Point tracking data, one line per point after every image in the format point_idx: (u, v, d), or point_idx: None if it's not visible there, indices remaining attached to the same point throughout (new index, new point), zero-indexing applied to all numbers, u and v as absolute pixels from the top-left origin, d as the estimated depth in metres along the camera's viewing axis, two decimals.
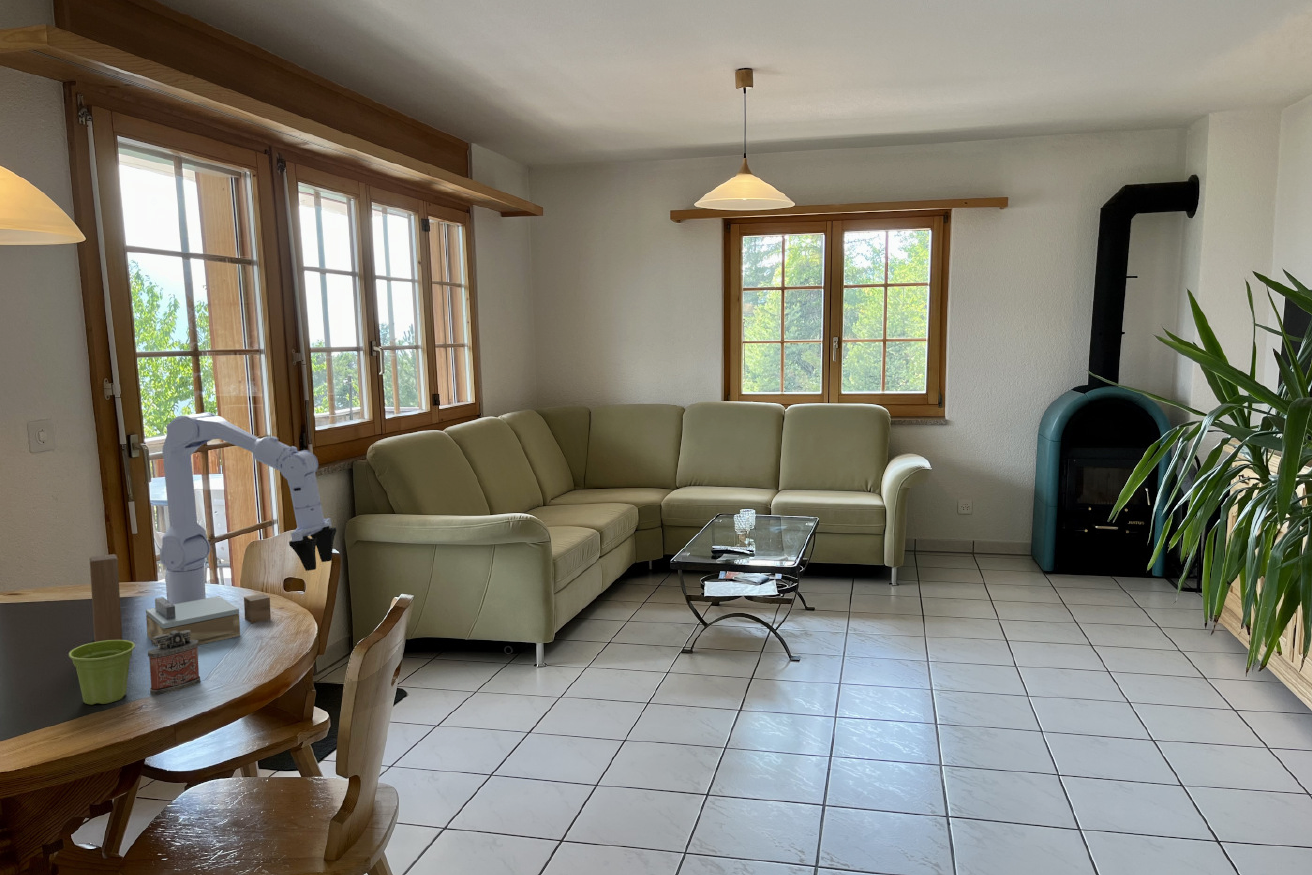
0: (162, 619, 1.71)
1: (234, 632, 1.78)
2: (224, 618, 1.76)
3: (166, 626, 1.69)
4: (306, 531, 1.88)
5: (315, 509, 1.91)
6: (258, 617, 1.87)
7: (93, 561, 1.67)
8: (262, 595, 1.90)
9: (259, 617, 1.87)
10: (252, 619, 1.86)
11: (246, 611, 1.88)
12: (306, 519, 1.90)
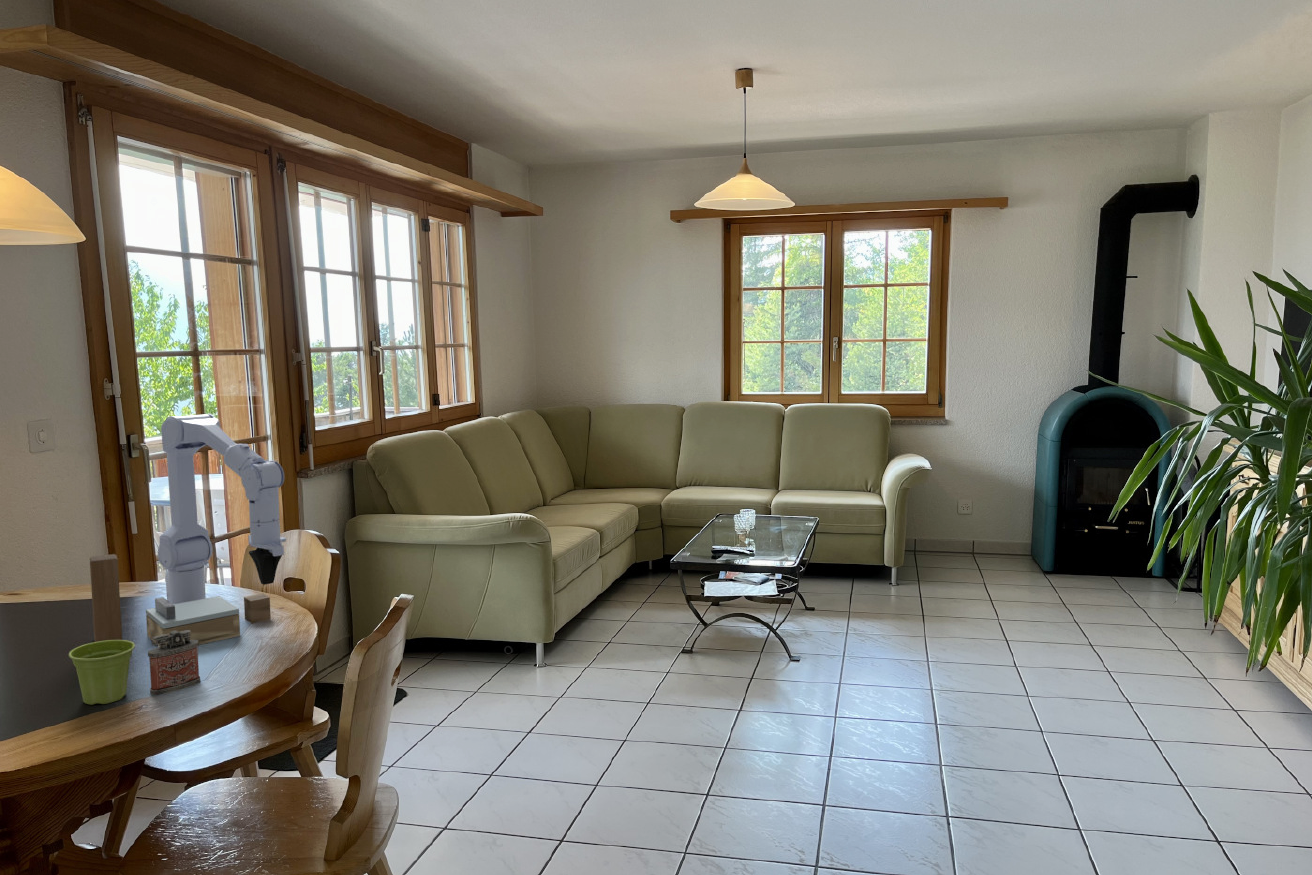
0: (162, 619, 1.71)
1: (234, 632, 1.78)
2: (224, 618, 1.76)
3: (166, 626, 1.69)
4: None
5: (279, 522, 1.83)
6: (258, 617, 1.87)
7: (93, 561, 1.67)
8: (262, 595, 1.90)
9: (259, 617, 1.87)
10: (252, 619, 1.86)
11: (246, 611, 1.88)
12: (273, 534, 1.81)
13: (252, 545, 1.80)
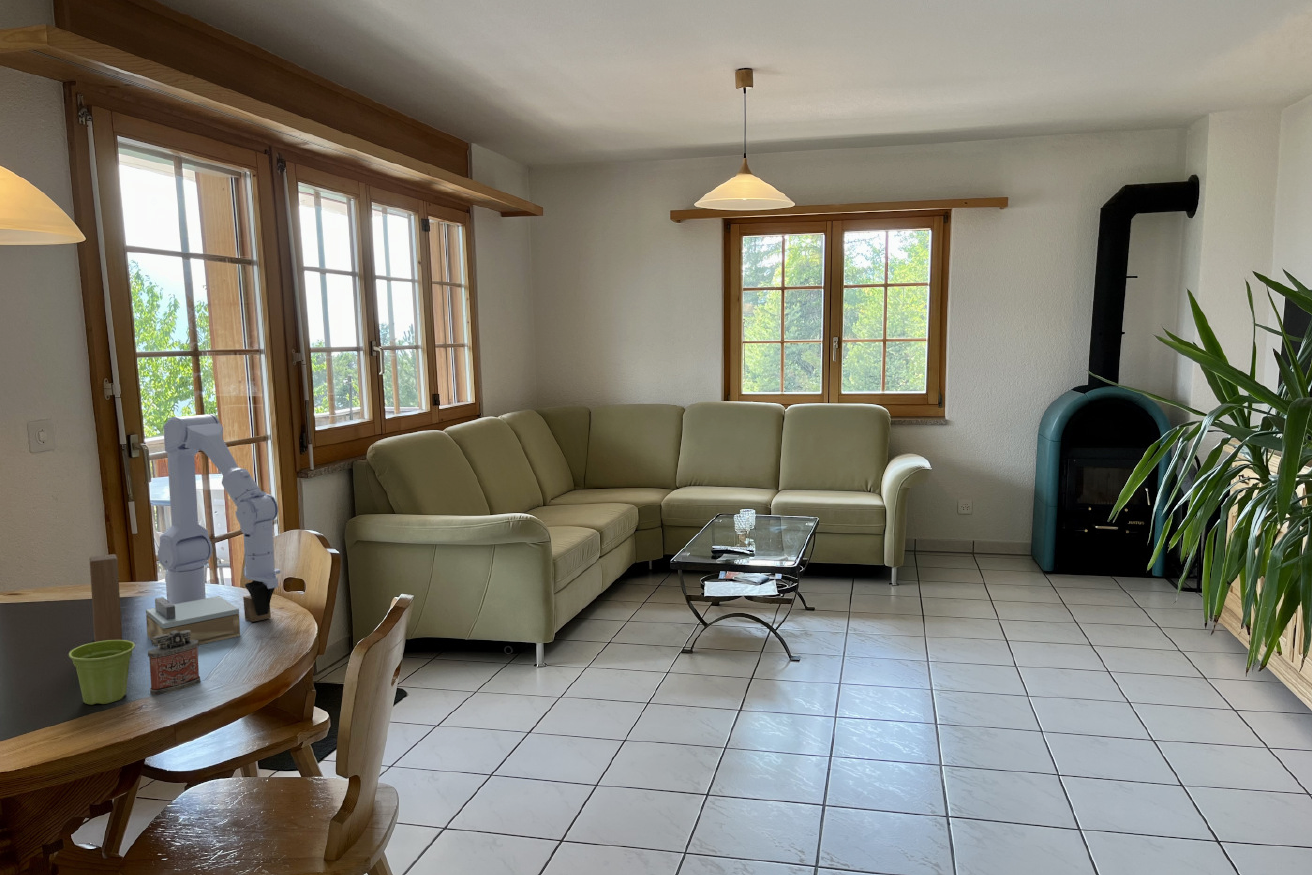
0: (162, 619, 1.71)
1: (234, 632, 1.78)
2: (224, 618, 1.76)
3: (166, 626, 1.69)
4: None
5: (273, 555, 1.87)
6: None
7: (93, 561, 1.67)
8: None
9: None
10: (252, 617, 1.87)
11: (245, 610, 1.89)
12: (267, 566, 1.84)
13: (247, 578, 1.84)
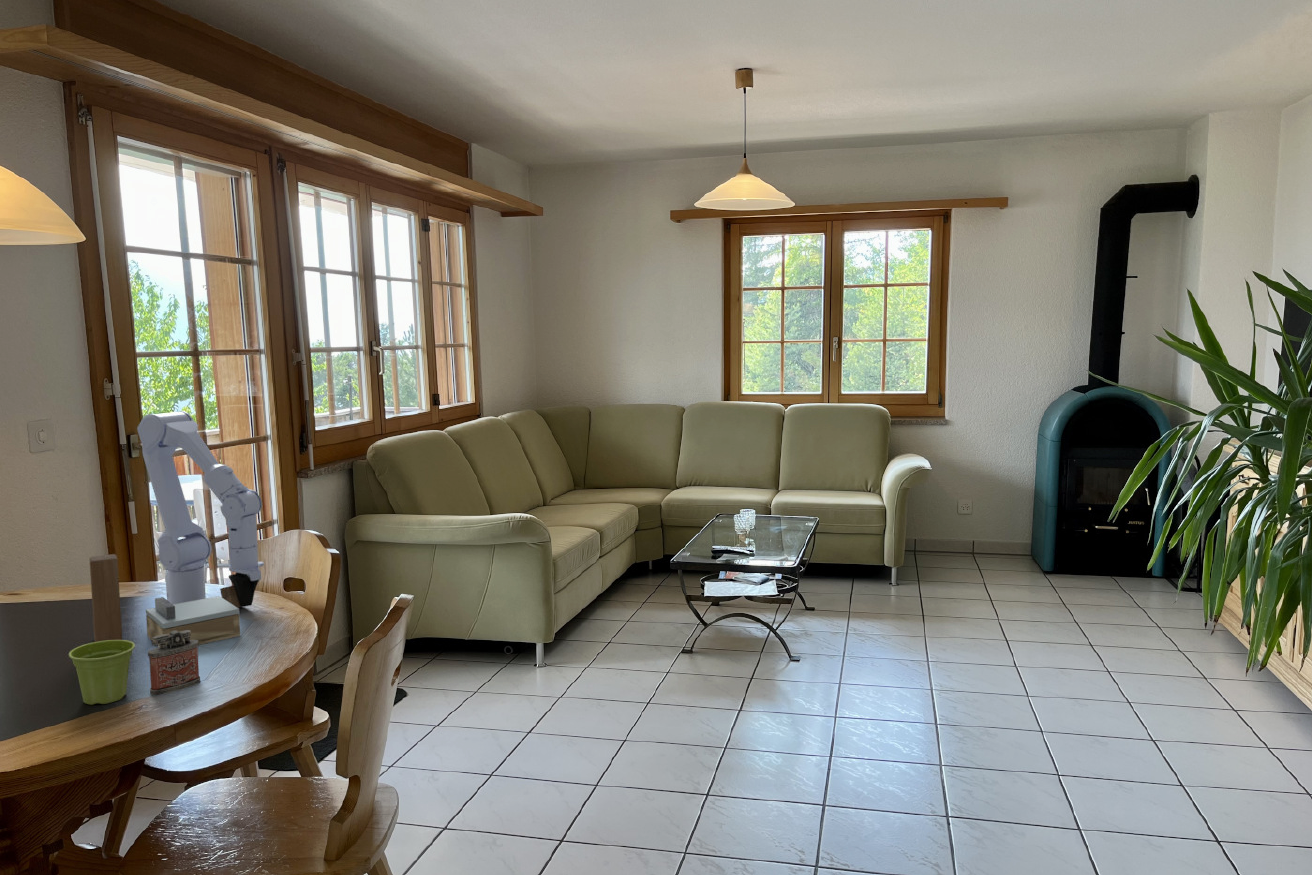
0: (162, 619, 1.71)
1: (234, 632, 1.78)
2: (224, 618, 1.76)
3: (166, 626, 1.69)
4: None
5: (257, 548, 1.93)
6: (237, 602, 1.94)
7: (93, 561, 1.67)
8: None
9: None
10: (232, 604, 1.93)
11: None
12: (251, 559, 1.91)
13: (231, 570, 1.91)
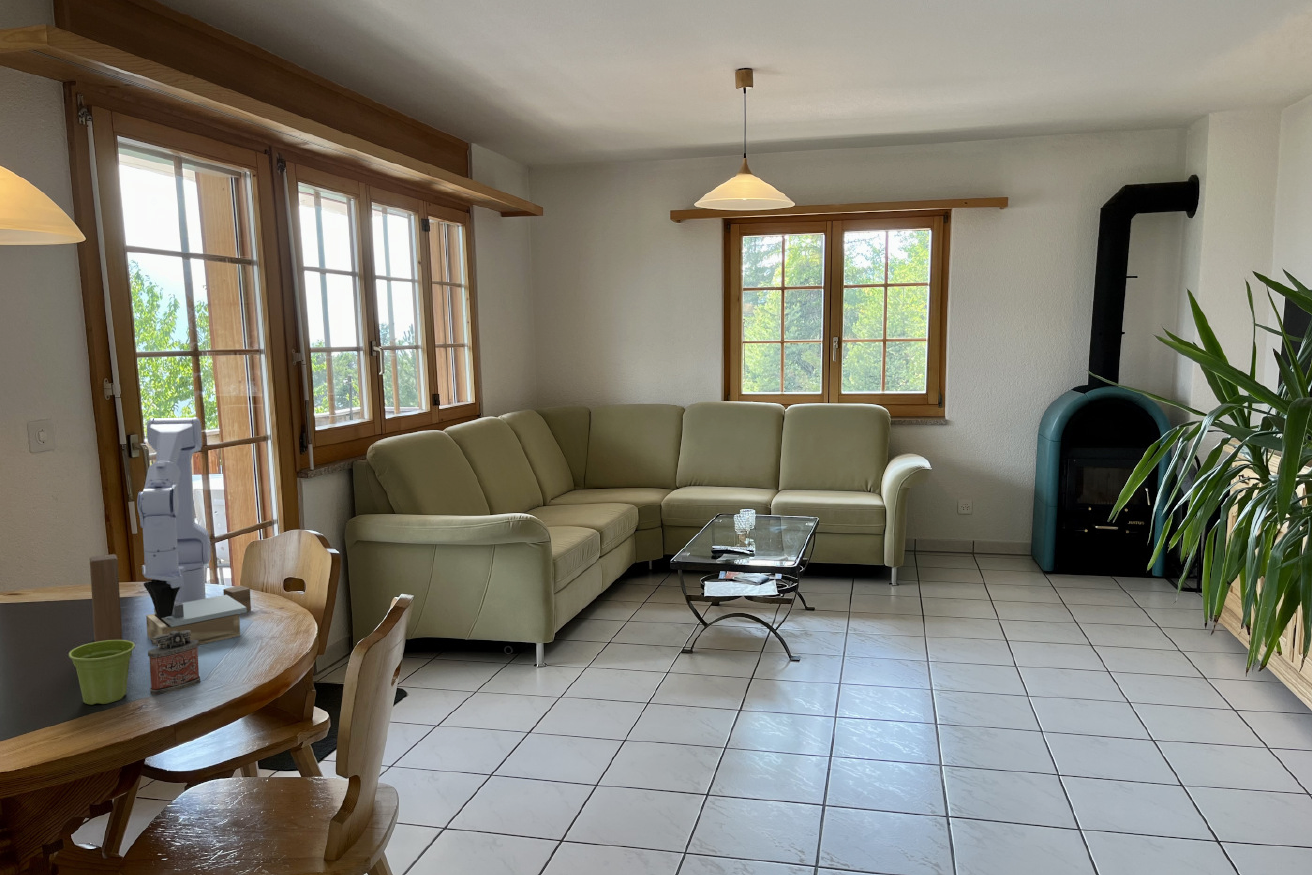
0: (171, 618, 1.72)
1: (234, 632, 1.78)
2: (224, 618, 1.76)
3: (174, 624, 1.70)
4: (180, 576, 1.68)
5: (177, 551, 1.71)
6: None
7: (93, 561, 1.67)
8: (241, 587, 1.96)
9: None
10: None
11: None
12: (170, 564, 1.69)
13: (147, 576, 1.68)
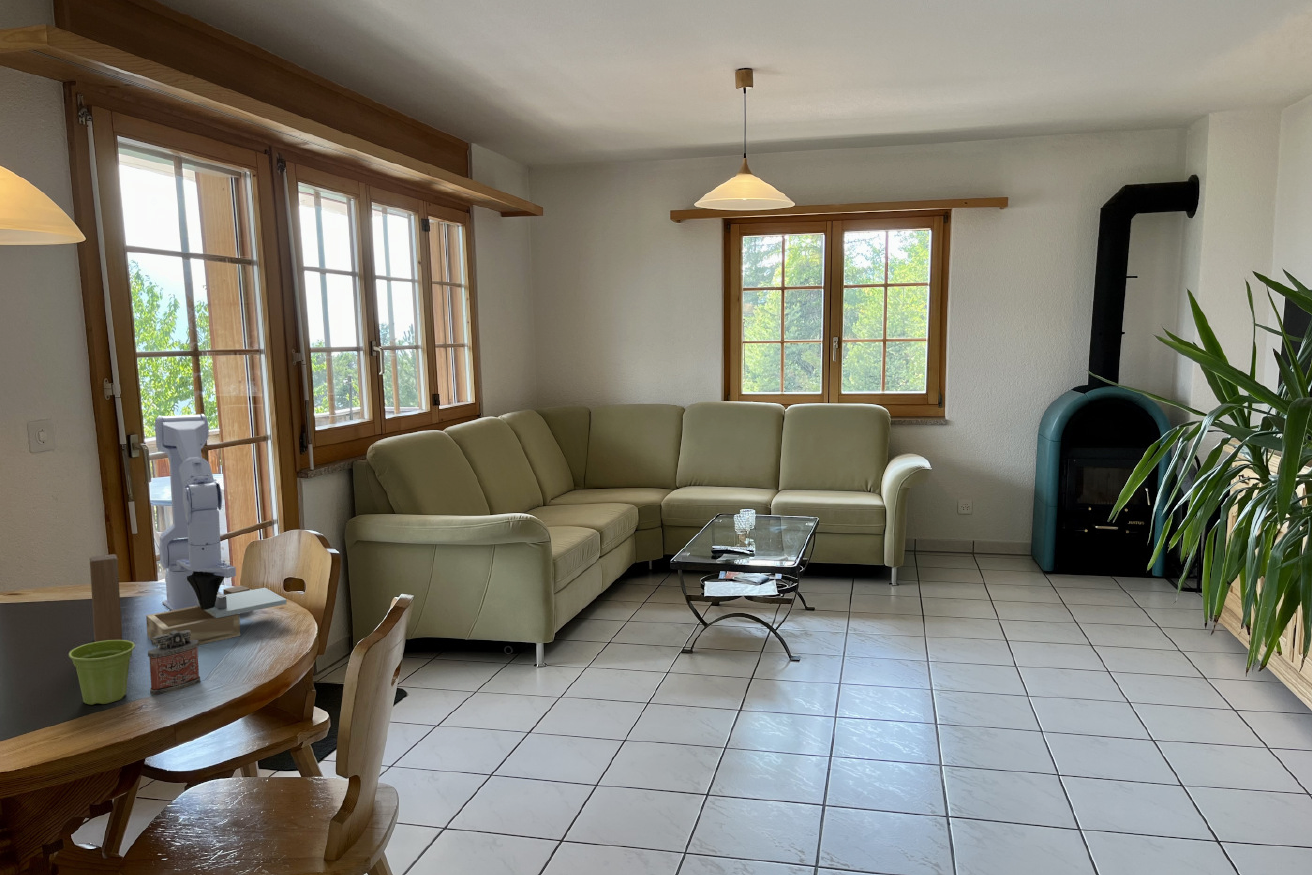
0: (214, 609, 1.77)
1: (234, 632, 1.78)
2: (224, 618, 1.76)
3: (218, 616, 1.75)
4: None
5: (220, 544, 1.77)
6: None
7: (93, 561, 1.67)
8: (241, 587, 1.96)
9: None
10: None
11: None
12: (217, 556, 1.75)
13: (195, 569, 1.73)
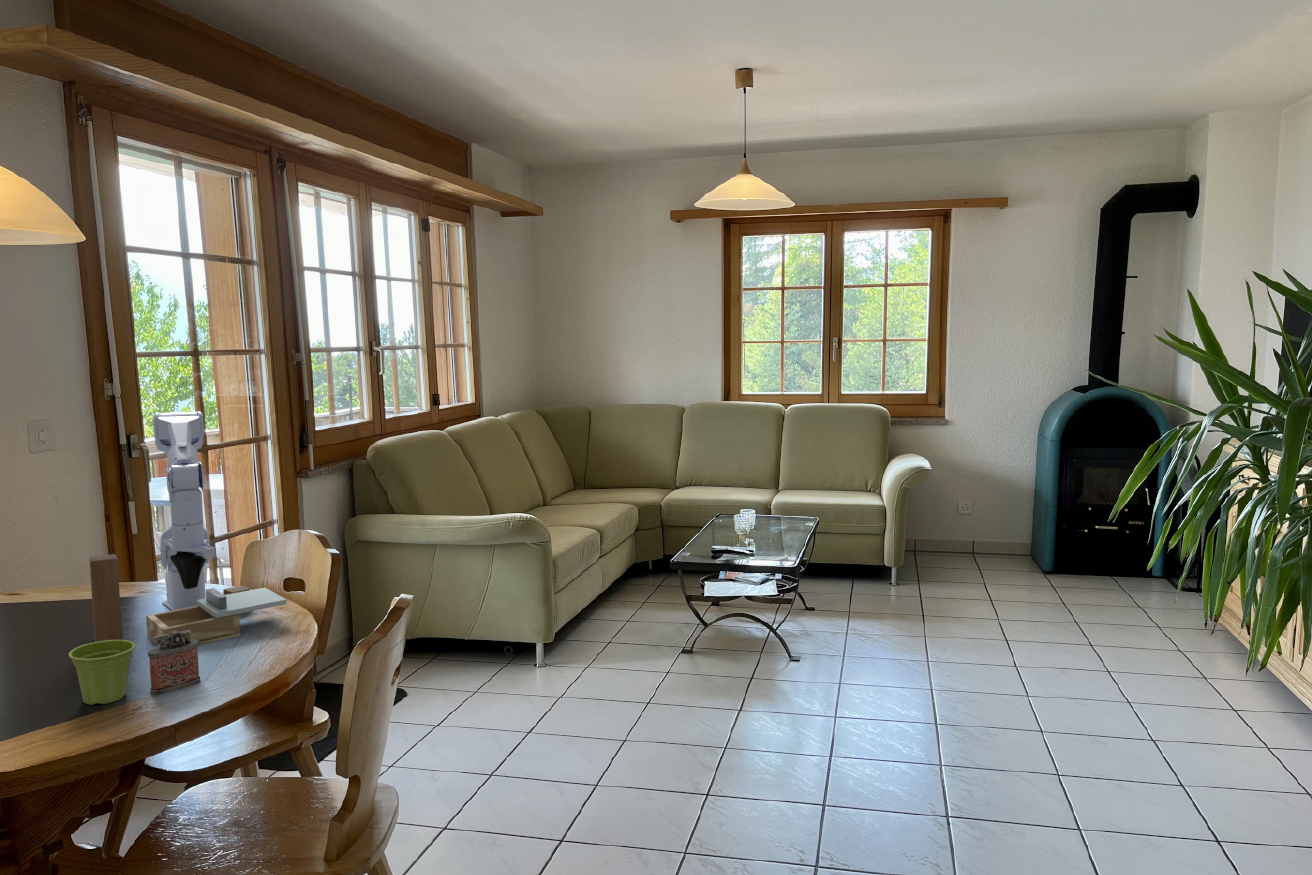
0: (214, 609, 1.77)
1: (234, 632, 1.78)
2: (224, 618, 1.76)
3: (218, 616, 1.75)
4: None
5: None
6: None
7: (93, 561, 1.67)
8: (241, 587, 1.96)
9: None
10: None
11: None
12: (199, 536, 1.77)
13: (177, 549, 1.75)
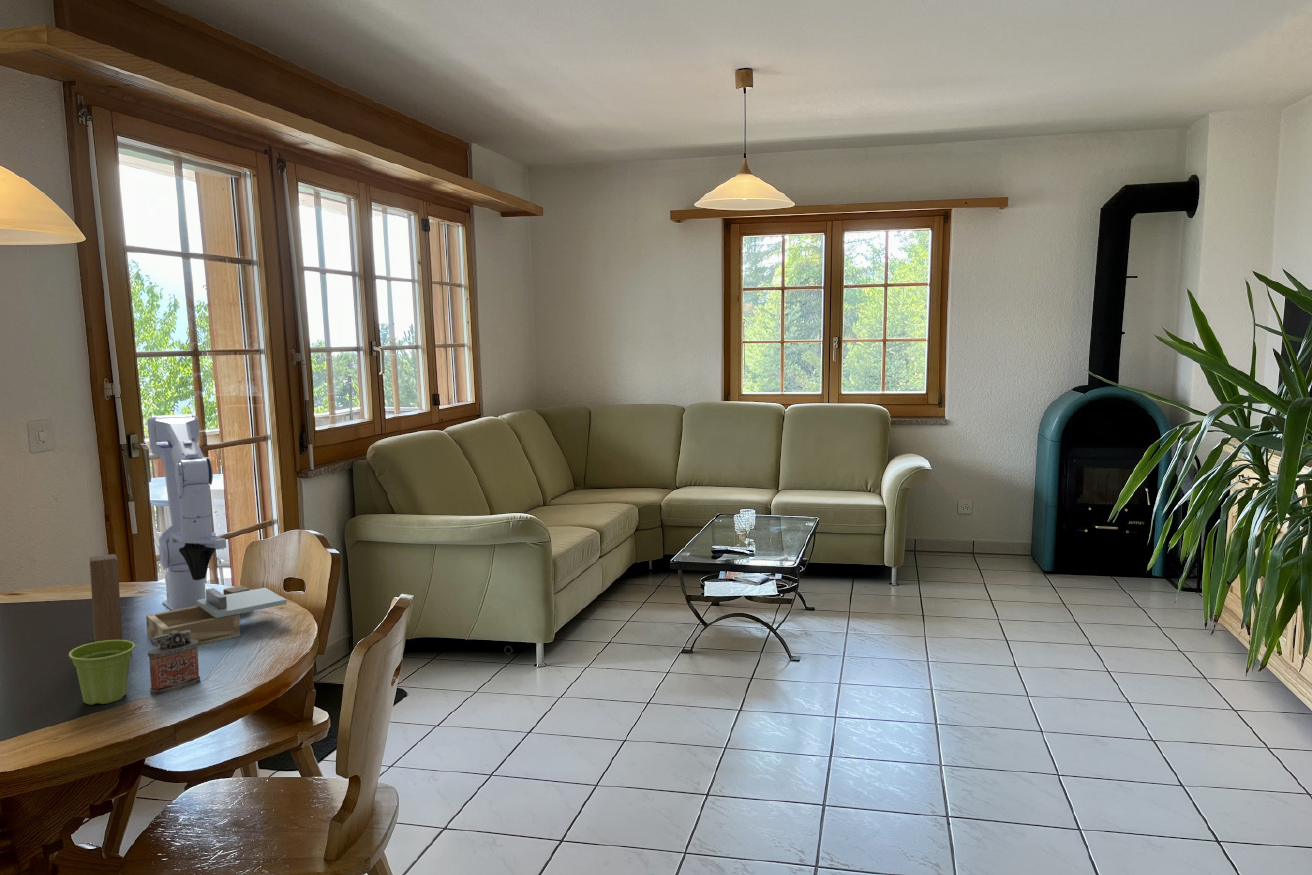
0: (214, 609, 1.77)
1: (234, 632, 1.78)
2: (224, 618, 1.76)
3: (218, 616, 1.75)
4: None
5: None
6: None
7: (93, 561, 1.67)
8: (241, 587, 1.96)
9: None
10: None
11: None
12: (208, 529, 1.83)
13: (187, 541, 1.80)
